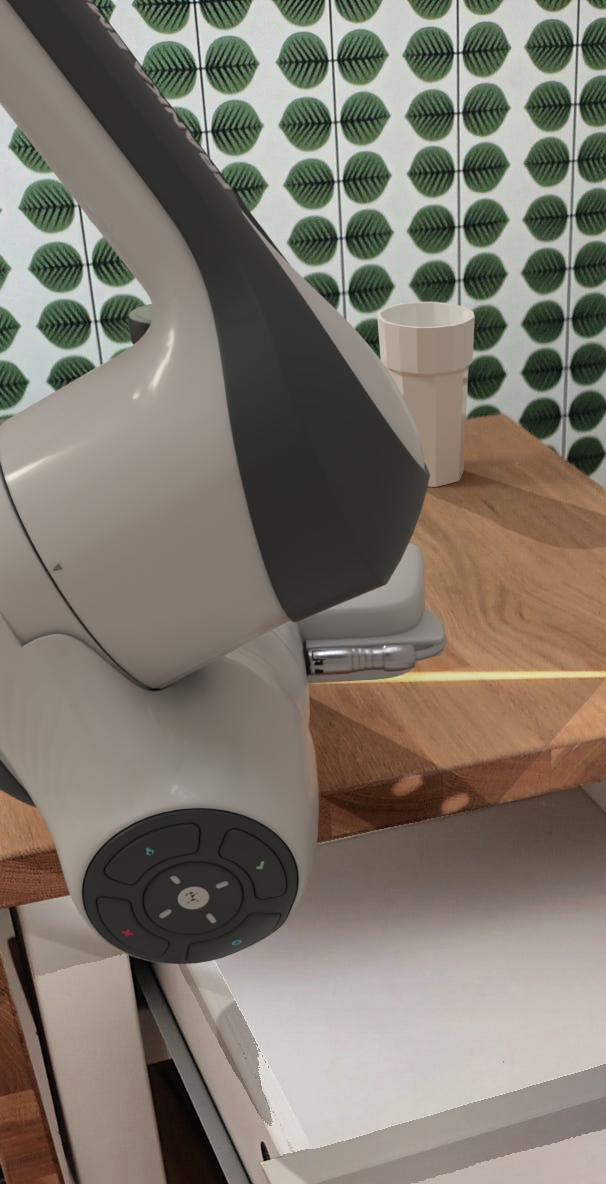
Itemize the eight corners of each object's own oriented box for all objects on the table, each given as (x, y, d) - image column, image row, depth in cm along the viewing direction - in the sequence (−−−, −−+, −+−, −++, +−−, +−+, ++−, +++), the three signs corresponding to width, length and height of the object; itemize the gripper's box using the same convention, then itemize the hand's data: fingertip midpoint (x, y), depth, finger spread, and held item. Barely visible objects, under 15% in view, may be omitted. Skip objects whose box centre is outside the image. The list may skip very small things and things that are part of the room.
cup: (374, 462, 114) (368, 304, 107) (462, 455, 115) (461, 299, 109) (391, 494, 109) (387, 330, 102) (483, 486, 110) (484, 324, 103)
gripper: (452, 588, 62) (415, 467, 73) (-78, 614, 60) (-34, 485, 71) (452, 728, 66) (417, 593, 77) (-47, 758, 63) (-9, 614, 74)
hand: (197, 541), depth 74 cm, fingers open, 8 cm apart
